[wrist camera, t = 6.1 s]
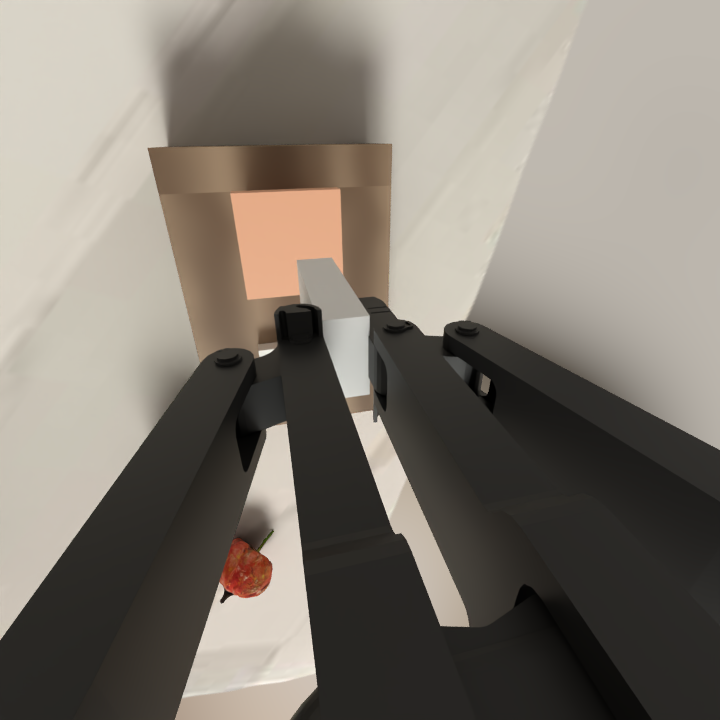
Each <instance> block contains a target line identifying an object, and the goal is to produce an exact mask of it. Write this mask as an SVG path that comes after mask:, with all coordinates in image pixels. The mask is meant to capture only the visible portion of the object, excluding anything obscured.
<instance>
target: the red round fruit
mask: <svg viewBox="0 0 720 720" xmlns="http://www.w3.org/2000/svg"><path fill="white" fill-rule="evenodd" d="M273 532H274V531H273V530H272V531H271V532H270V533H269V535H268V536H267V538H265V539H264V540H263V542H262V544H261V545H260V547H259V548H258V549H257V550H256V549H255V548H254V549H253V547H252V546H250V545H249V544H248V543H246V542H244V541H243V540H242V539H240V538H236V539H234V540H233V541H232V544H231V547H230V550H229V554H228V557H227V560H226V563H225V566H224V569H223V572H222V575H221V578H220V581H219V582H220V583H221V584H222V585H223V587H224V595H223V597H222V599H221V600H220V603H221V604H222V603H224V601H225V600H226V599H227V598H228V597H230V596H232V595H238V596H239V597H242V598H249V597H254V596H258V595H260V594H261V593H262V592H263V591H265V590H266V588H267V587H268V585H269V583H270V580H271V576H272V563H271V561H269V560H268V558H267V557H265V556H264V555H262V554H261V553H260V552H259V551H260V550H261V548H262V547H263V545H264V544H265V543H266V541H267V540H268V539H269V537H270V536H271V535H272V533H273Z"/></svg>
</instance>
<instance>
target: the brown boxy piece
mask: <svg viewBox="0 0 720 720" xmlns="http://www.w3.org/2000/svg"><path fill="white" fill-rule="evenodd" d="M148 152H149V156H150V160H151V164H152V168H153V172H154V176H155V180H156V184H157V188H158V192H159V197H160V201H161V205H162V209H163V213H164V217H165V221H166V225H167V229H168V233H169V237H170V242H171V246H172V250H173V254H174V258H175V262H176V266H177V270H178V274H179V278H180V283H181V287H182V291H183V295H184V299H185V303H186V307H187V311H188V315H189V319H190V323H191V328H192V332H193V336H194V340H195V344H196V348H197V352H198V356H199V360H200V363H201V362H202V361H203V359H205V358H206V357H207V356H208V355H210V354H212V353H214V352H216V351H217V350H221V349H222V350H223V349H225V348H241V349H246V350H249V351H251V352H252V354H253V355H254V359H255V358H258V357H259V351H258V344H265V343H273V342H277V335H276V328H275V320H274V312H275V311H276V310H277V309H278V308H279V306H286V305H292V304H301V303H300V295H294V296H284V297H273V298H262V299H251V300H247V294H246V288H245V282H244V276H243V269H242V263H241V257H240V251H239V245H238V239H237V232H236V226H235V220H234V214H233V208H232V201H231V195H230V193H231V191H252V190H278V189H304V188H330V187H337V188H339V189H340V193H341V222H342V252H343V276H344V277H345V279H346V280H347V282H348V283H349V285H350V286H351V288H352V289H353V291H354V292H355V294H356V295H357V297H358V298H363V297H376V298H378V299H380V300H382V301H384V303H385V304H386V305H387V307H388V290H389V249H390V207H391V166H392V144H308V145H246V146H185V147H156V148H148ZM345 399H346V401H347V404H348V407H349V410H350V413H357V412H364V411H370V410H373V385H372V383H371V381H370V394H369V395H362V396H355V397H348V398H345ZM281 424H287V421H285V422H282V423H280V424H277V425H281ZM274 426H275V425H274Z"/></svg>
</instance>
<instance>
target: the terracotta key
mask: <svg viewBox="0 0 720 720" xmlns="http://www.w3.org/2000/svg"><path fill="white" fill-rule="evenodd" d="M230 195H231V201H232V208H233V214H234V220H235V226H236V232H237V239H238V245H239V251H240V257H241V263H242V269H243V276H244V282H245V288H246V294H247V300H251V299H262V298H273V297H284V296H294V295H300V292H299V281H298V270H297V260H304V259H317V258H331V257H332V259H333V260H334V262H335V263H336V265H337V266H338V268H339V269H340V271H341V273H342V274H343V252H342V222H341V193H340V189H339V188H337V187H330V188H304V189H278V190H252V191H231V193H230Z"/></svg>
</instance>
